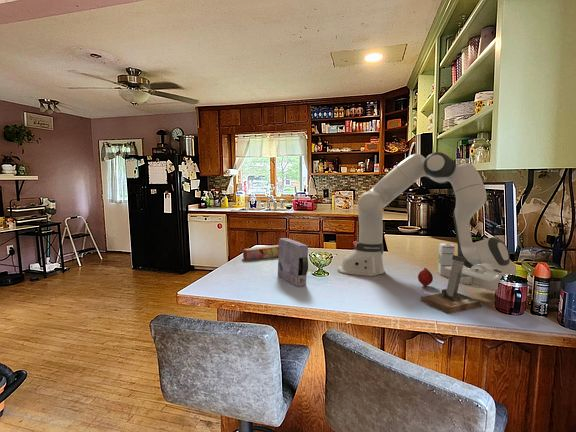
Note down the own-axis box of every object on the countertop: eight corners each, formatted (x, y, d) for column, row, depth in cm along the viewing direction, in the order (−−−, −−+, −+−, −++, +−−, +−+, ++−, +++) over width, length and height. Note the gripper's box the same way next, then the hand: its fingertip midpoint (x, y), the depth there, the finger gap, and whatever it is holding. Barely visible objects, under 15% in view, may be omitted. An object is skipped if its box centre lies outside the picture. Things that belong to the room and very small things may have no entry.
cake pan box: (308, 286, 141) (309, 244, 139) (298, 288, 138) (299, 245, 136) (286, 274, 157) (286, 237, 155) (277, 276, 155) (277, 238, 153)
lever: (448, 296, 123) (457, 255, 123) (457, 299, 120) (466, 258, 119) (443, 295, 122) (452, 255, 122) (452, 299, 119) (461, 257, 118)
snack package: (246, 261, 182) (246, 249, 182) (242, 258, 188) (242, 247, 187) (281, 257, 192) (281, 246, 191) (276, 255, 198) (276, 243, 197)
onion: (420, 283, 145) (421, 265, 145) (434, 285, 142) (435, 267, 141) (415, 286, 141) (416, 267, 140) (429, 289, 137) (430, 270, 136)
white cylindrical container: (453, 276, 156) (455, 245, 154) (440, 275, 157) (441, 245, 155) (450, 273, 161) (452, 243, 160) (437, 272, 162) (439, 242, 161)
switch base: (452, 295, 130) (453, 284, 129) (481, 306, 119) (482, 294, 118) (420, 301, 123) (421, 289, 123) (448, 313, 113) (448, 300, 112)
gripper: (459, 261, 136) (433, 264, 130) (510, 274, 117) (483, 279, 112) (458, 276, 136) (432, 280, 131) (508, 291, 118) (481, 297, 112)
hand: (456, 279), depth 121 cm, fingers closed, pressing on lever
